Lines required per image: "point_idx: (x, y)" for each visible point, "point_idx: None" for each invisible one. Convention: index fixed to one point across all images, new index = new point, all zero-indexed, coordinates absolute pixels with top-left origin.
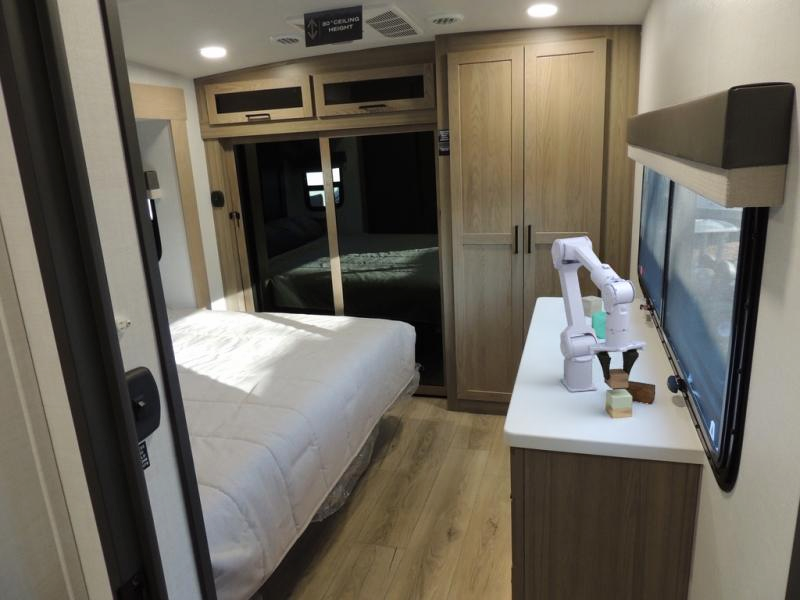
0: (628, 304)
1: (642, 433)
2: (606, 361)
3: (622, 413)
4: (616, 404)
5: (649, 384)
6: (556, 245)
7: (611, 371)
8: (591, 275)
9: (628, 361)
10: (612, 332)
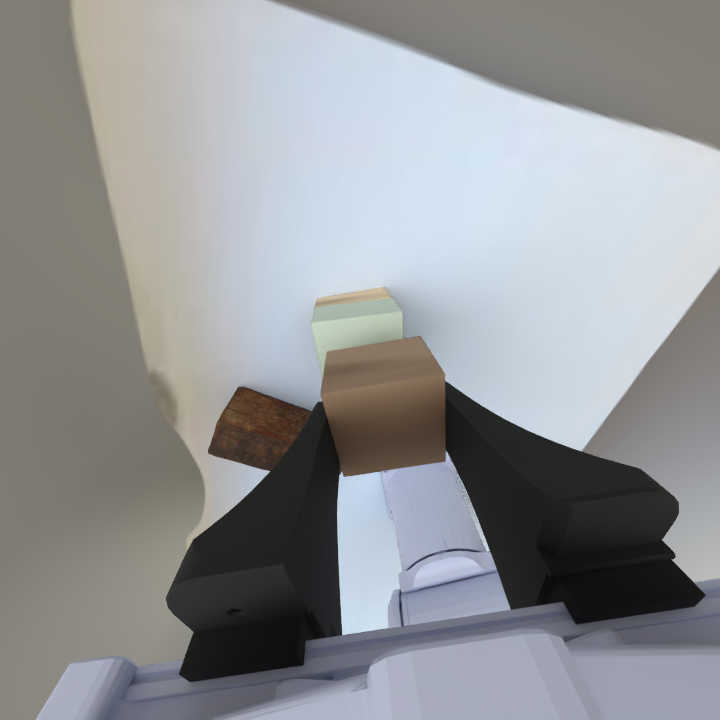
0: None
1: (302, 144)
2: (560, 462)
3: (351, 296)
4: (379, 304)
5: (227, 453)
6: None
7: (416, 438)
8: None
9: (311, 492)
10: None
